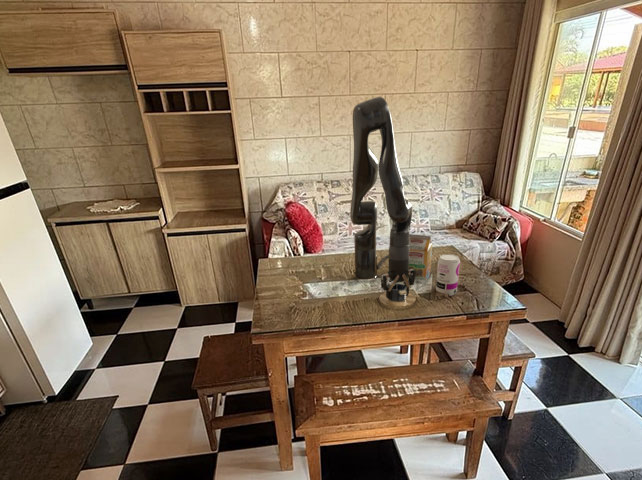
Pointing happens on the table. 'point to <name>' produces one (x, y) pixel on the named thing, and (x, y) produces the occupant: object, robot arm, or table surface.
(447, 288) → the supplement can
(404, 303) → the turntable
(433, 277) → the table surface
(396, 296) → the dark grey basket
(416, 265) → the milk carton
